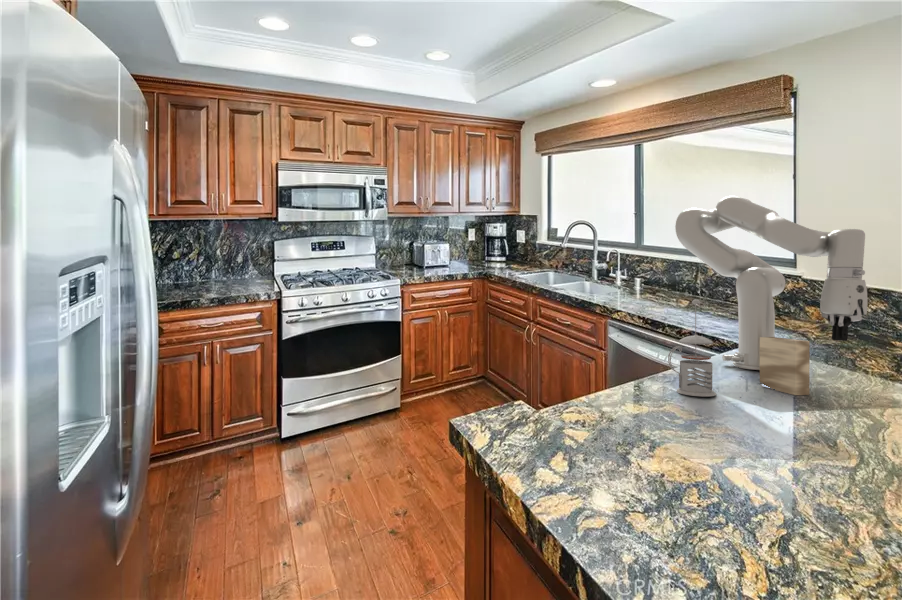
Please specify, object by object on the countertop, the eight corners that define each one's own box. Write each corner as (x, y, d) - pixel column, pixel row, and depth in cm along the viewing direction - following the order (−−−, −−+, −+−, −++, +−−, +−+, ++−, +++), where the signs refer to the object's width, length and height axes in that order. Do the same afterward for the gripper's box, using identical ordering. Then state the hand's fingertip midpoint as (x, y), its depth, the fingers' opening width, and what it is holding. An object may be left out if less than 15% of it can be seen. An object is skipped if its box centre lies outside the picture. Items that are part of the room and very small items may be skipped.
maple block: (795, 395, 119) (795, 341, 119) (759, 386, 131) (759, 337, 131) (809, 394, 120) (809, 341, 119) (772, 385, 131) (772, 336, 131)
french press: (722, 397, 117) (723, 299, 117) (673, 395, 120) (673, 299, 119) (709, 389, 127) (709, 299, 127) (664, 387, 129) (664, 299, 129)
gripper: (884, 274, 120) (879, 344, 121) (831, 274, 135) (827, 336, 136) (858, 274, 119) (853, 344, 120) (808, 274, 134) (803, 336, 135)
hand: (839, 340), depth 128 cm, fingers closed
